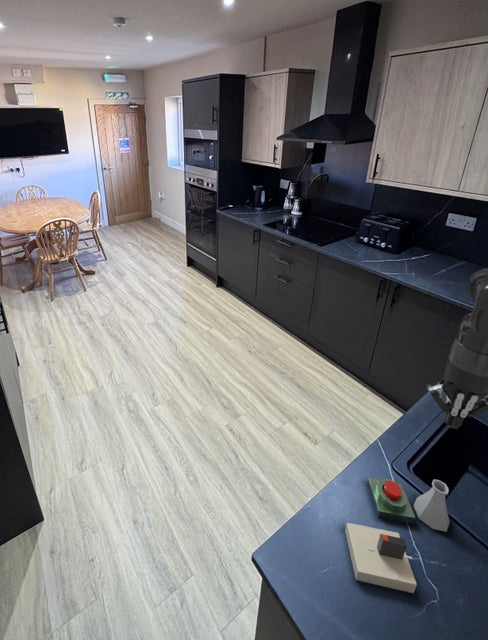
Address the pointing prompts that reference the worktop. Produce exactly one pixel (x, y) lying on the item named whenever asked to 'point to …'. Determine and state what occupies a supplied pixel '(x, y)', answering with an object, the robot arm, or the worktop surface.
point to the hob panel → (377, 560)
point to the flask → (433, 506)
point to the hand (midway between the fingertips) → (451, 425)
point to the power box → (390, 502)
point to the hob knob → (391, 546)
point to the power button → (392, 490)
